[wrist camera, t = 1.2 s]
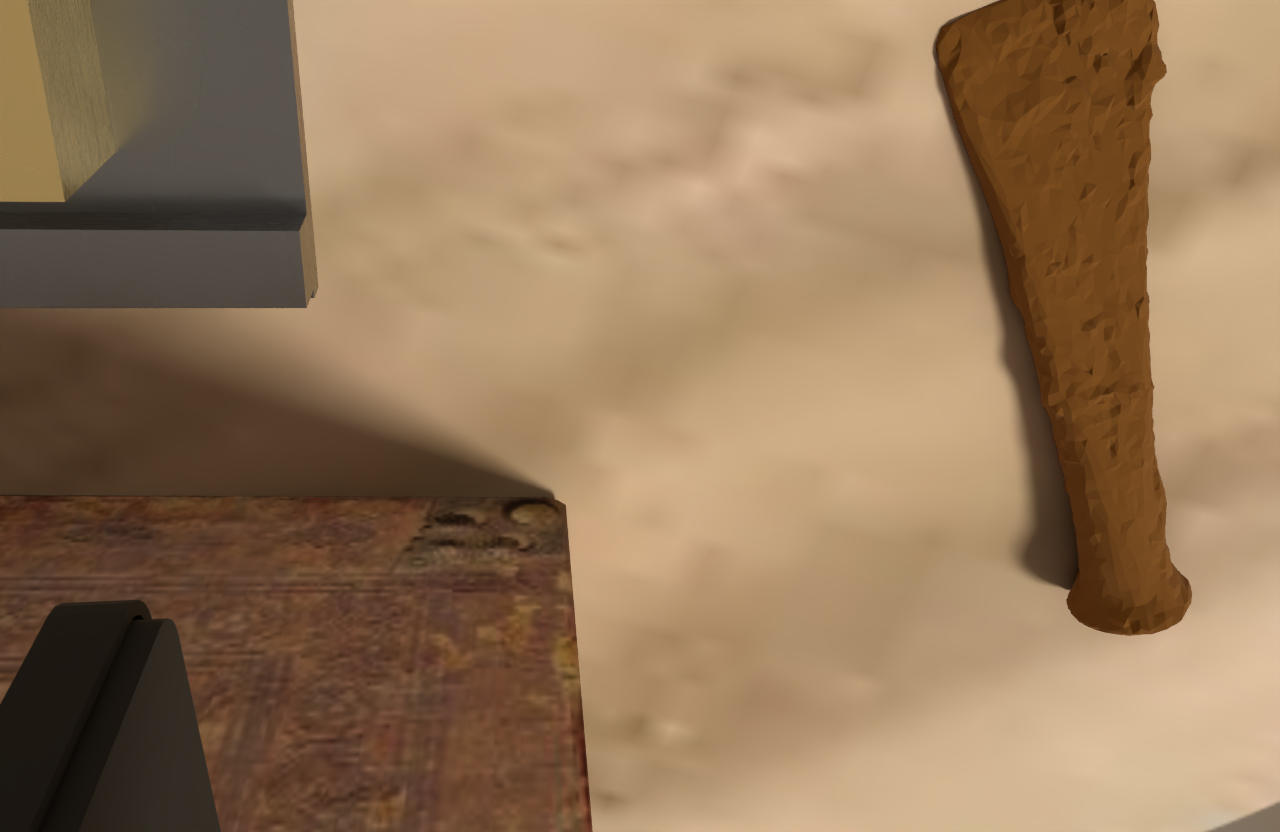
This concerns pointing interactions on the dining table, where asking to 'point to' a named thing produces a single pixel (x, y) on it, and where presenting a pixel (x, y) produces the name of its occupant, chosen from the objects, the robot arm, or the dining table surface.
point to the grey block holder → (180, 171)
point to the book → (340, 648)
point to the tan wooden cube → (50, 100)
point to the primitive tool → (1079, 265)
